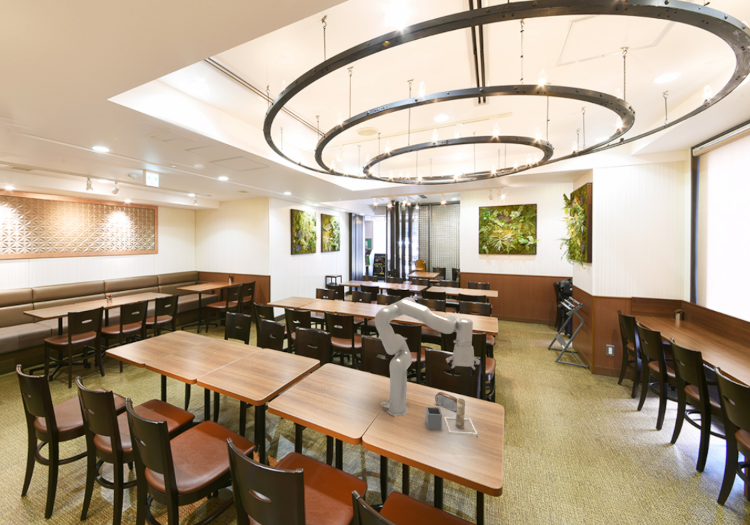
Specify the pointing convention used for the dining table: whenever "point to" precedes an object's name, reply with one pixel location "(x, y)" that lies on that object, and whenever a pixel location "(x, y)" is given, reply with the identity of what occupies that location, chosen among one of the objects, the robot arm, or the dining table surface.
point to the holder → (433, 418)
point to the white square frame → (461, 432)
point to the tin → (446, 401)
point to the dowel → (460, 413)
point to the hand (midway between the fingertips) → (462, 375)
